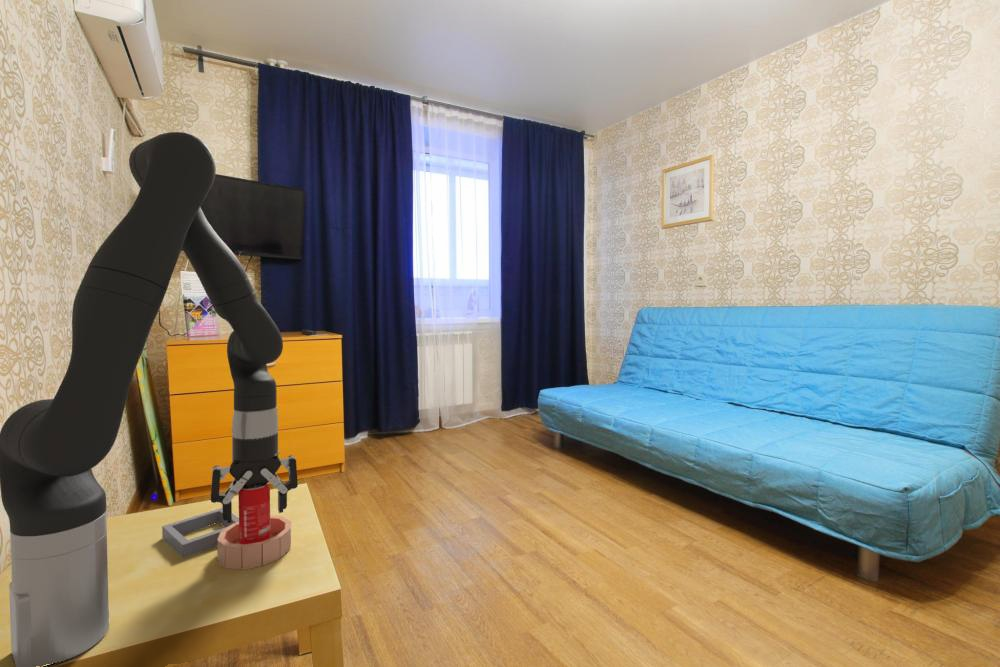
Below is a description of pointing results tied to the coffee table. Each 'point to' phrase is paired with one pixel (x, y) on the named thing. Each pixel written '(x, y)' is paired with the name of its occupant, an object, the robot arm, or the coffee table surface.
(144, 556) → the coffee table surface
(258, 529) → the beverage can
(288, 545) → the bowl
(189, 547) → the rectangular frame
